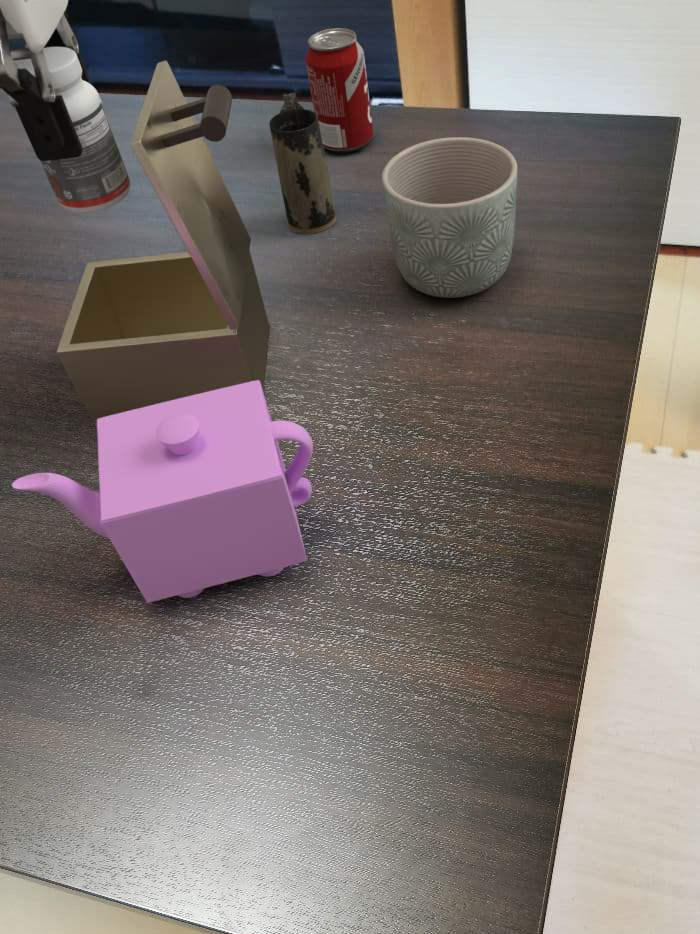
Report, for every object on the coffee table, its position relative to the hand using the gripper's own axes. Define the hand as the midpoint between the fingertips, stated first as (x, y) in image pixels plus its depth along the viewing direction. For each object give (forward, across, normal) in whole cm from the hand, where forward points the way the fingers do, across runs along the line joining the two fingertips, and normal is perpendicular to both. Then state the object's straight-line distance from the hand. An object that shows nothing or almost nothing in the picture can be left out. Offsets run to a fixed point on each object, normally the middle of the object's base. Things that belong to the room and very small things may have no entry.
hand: (70, 133), depth 61 cm
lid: (+6, +1, +8) cm, 10 cm away
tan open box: (+23, +1, +2) cm, 23 cm away
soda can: (+23, -41, +17) cm, 50 cm away
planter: (+23, -11, +28) cm, 38 cm away
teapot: (+23, +22, +6) cm, 32 cm away
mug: (+23, -25, +13) cm, 37 cm away
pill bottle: (+5, 0, 0) cm, 5 cm away
